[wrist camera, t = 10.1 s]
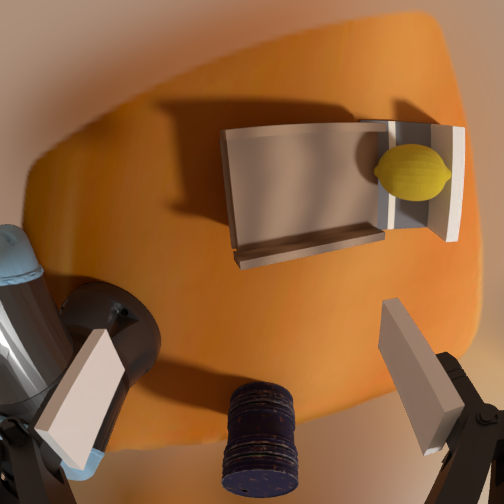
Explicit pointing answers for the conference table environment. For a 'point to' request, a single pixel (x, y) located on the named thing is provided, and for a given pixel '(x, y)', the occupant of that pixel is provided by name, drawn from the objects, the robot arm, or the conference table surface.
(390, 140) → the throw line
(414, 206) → the lane mat
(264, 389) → the dark blue upright cylinder
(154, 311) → the conference table surface
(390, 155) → the lemon
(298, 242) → the ramp
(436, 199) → the rail
